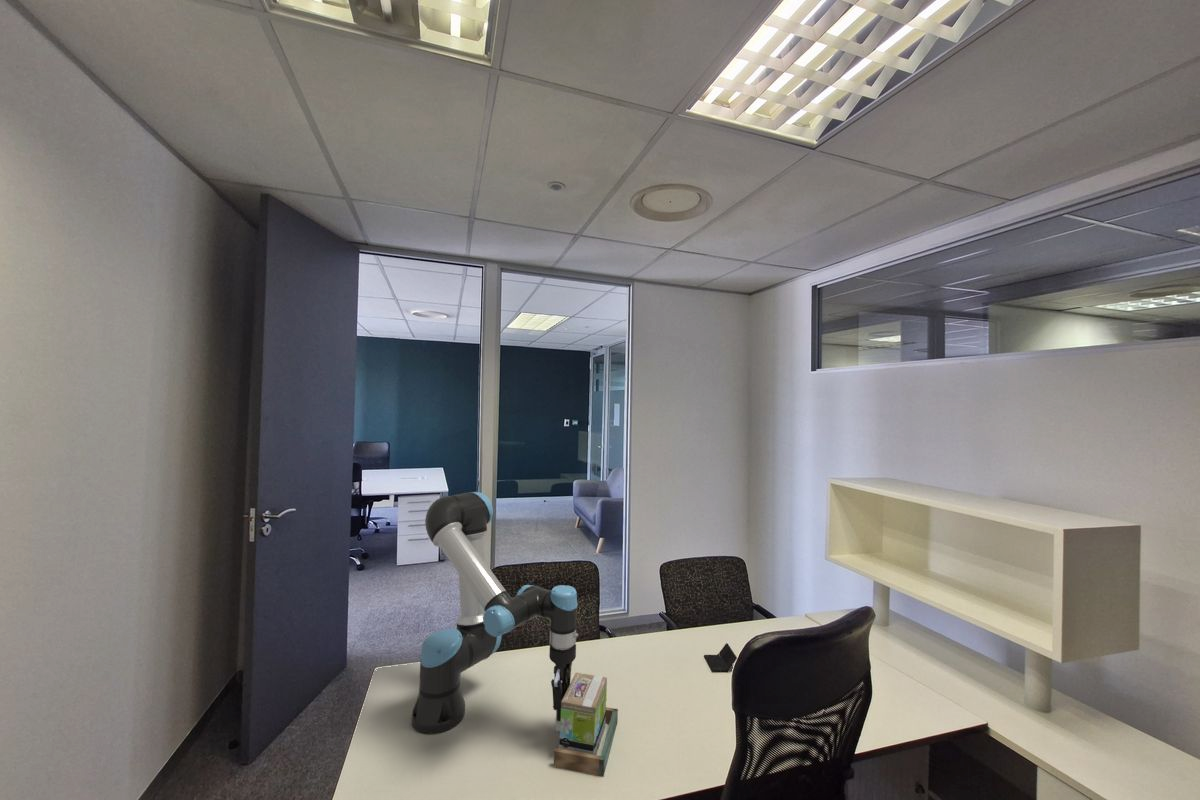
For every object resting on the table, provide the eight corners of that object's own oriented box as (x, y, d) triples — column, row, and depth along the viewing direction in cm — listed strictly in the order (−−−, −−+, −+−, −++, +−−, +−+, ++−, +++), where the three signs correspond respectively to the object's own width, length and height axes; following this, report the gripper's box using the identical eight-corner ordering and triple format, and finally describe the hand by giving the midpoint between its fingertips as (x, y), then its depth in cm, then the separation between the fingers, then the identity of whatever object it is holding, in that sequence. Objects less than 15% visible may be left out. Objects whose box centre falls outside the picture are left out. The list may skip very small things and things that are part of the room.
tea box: (594, 766, 115) (595, 707, 116) (557, 758, 117) (559, 701, 118) (606, 727, 130) (607, 675, 131) (573, 721, 132) (574, 670, 133)
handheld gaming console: (698, 653, 170) (715, 632, 170) (711, 662, 171) (728, 642, 172) (712, 674, 159) (729, 652, 159) (725, 684, 160) (743, 662, 161)
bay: (553, 767, 114) (554, 750, 115) (574, 715, 135) (575, 702, 135) (603, 776, 112) (603, 760, 112) (617, 722, 132) (617, 709, 132)
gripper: (569, 657, 119) (567, 748, 118) (581, 634, 132) (579, 716, 130) (542, 653, 120) (540, 743, 119) (557, 631, 133) (555, 712, 132)
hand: (560, 729), depth 125 cm, fingers closed
